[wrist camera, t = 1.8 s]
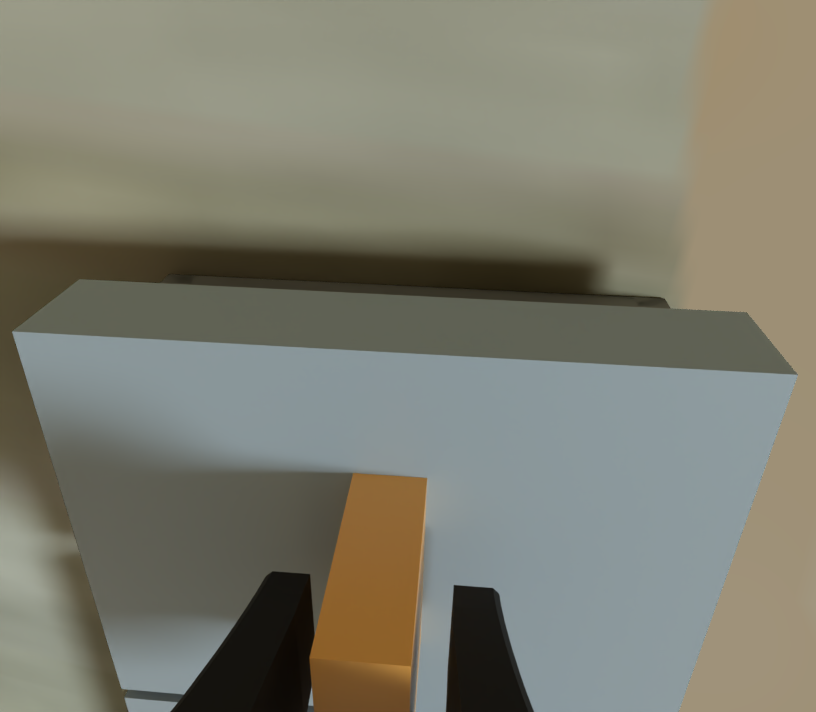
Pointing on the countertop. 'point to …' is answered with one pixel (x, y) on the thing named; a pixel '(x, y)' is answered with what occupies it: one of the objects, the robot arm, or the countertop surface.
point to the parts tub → (418, 291)
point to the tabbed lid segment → (406, 478)
